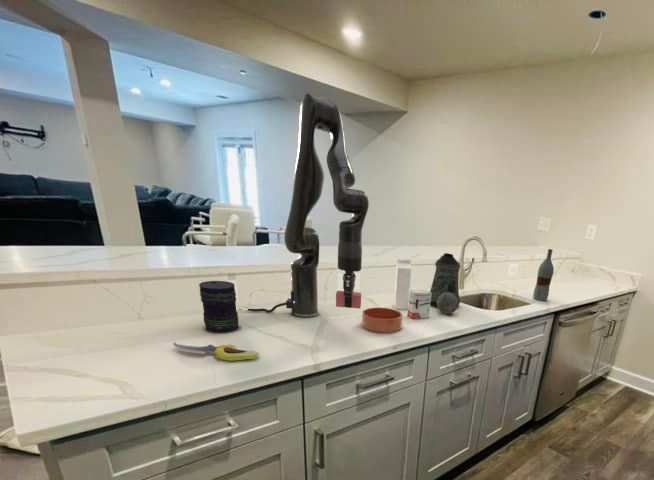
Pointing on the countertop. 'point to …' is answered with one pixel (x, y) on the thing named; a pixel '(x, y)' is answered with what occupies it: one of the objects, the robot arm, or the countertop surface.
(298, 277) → the robot arm
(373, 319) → the bowl
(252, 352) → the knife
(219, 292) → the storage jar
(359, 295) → the eraser
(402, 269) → the milk
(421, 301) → the ink box
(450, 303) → the decorative ball
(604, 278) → the countertop surface
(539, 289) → the bottle
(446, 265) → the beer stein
